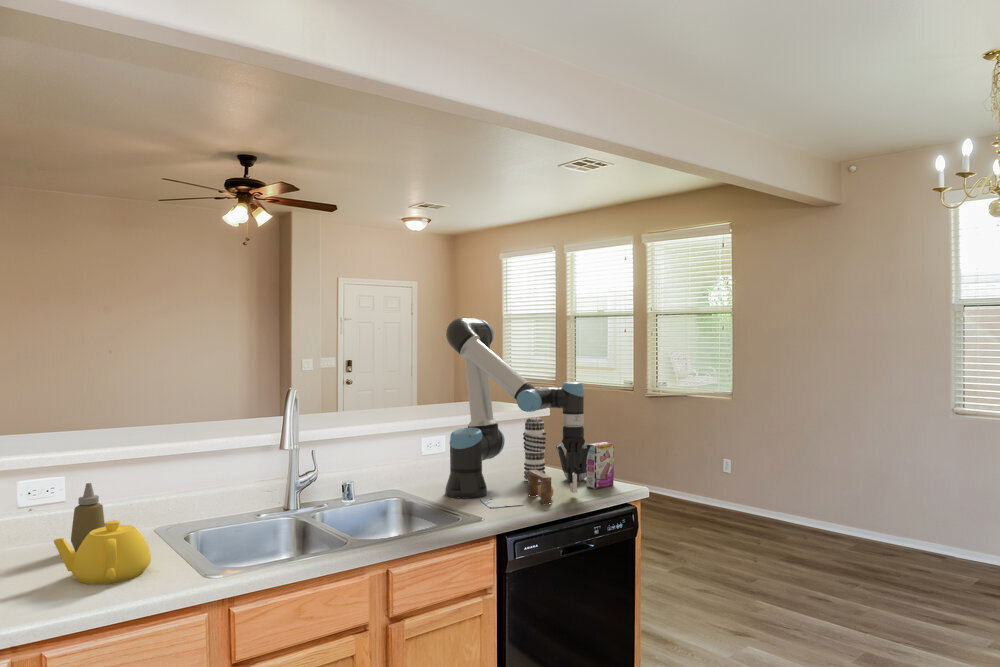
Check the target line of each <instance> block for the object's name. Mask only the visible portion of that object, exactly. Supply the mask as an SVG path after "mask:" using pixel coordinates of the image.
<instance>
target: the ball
mask: <svg viewBox="0 0 1000 667" xmlns="http://www.w3.org/2000/svg"><path fill="white" fill-rule="evenodd" d="M553 496H554V488H553V486H551V498H552V497H553ZM538 497H539V498H540V499H541V485H539V486H538Z"/></svg>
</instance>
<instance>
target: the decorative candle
mask: <svg viewBox="0 0 1000 667" xmlns="http://www.w3.org/2000/svg"><path fill="white" fill-rule="evenodd" d="M544 423H545V421H544V420H543V418H541V417H538V416H537V417H534V416H533V417H527V418H526V420H525V421H524V432H523V433H522V434H523V449H524V450H523V452H524V457H525V458H524V464H523V465H524V467H523V469H524V472H523V474H524V475H523V478H524V479H523V481H524V480H525V481H528V470H538V471H540V472H542V473H544V474H546V471H545V470H546V467H545V466H546V463H545V452H546V447H545V444H546V437H545V436H546V435H547V433H546V432H545V424H544ZM525 481H524V482H525ZM538 482H541V480H540V479H538Z"/></svg>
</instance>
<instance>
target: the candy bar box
mask: <svg viewBox="0 0 1000 667" xmlns="http://www.w3.org/2000/svg"><path fill="white" fill-rule="evenodd" d="M588 444H589V445H591V447H590V449H589V451H588V455H587V466H586V478H585V480H586V481H585V483H586V484H585V486H586V488H587V489H588V488H589V489H594V490H598V489H602V488H606V487H610V486H614V480H615V479H614V478H615V477H614V476H615V475H614V474H615V473H614V472H615V471H614V466H615V465H614V464H615V462H614V461H615V453H614V452H615V451H614V450H615V443H614V442H606V441H603V442H595V443H588Z"/></svg>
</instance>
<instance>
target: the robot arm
mask: <svg viewBox="0 0 1000 667" xmlns="http://www.w3.org/2000/svg"><path fill="white" fill-rule="evenodd" d="M445 331H446V332H445V335H446V336H445V337H446V340H447V343H448V344H449V345H450V346H451V348H452V349H453V350H454V351H455V352H457V354H459V355H460V356H461V357H463V359H464V362H465V363H464V365H465V372H466V373H465V374H466V384H467V392H468V393H467V395H468V402H469V403H468V404H469V405H468V406H469V411H470V412H469V415H470V422H469V423H468V424H467V427H461V428H458V429H454V430H453V431H452V432H451V433H450V436H449V437H450V438H449V458H450V460H449V470H450V471H449V472H450V473H449V475H448V479H447V482H446V485H445V496H447V497H448V498H449V497H450V498H455V499H475V498H482V497H485V496H487V494H488V487H487V483H486V481H485V477H484V474H483V461H486V460H489V459H490V460H491V459H493V458H495V457H496V456H498V455H500V454H501V453H502V451H503V449H504V447H505V437H504V436H505V435H504V433H503V431H501V429H500V428H499V423H498V421H497V420H495V419H494V413H493V402H492V393H491V385H490V378H491V380H493V381H494V382H495V383H496V384H497V385H499V386H500V387H501V388H502V389H503V390H504V391H505V392H506V393H507V394H508V395H510V396H511V397H512V398H513V399H515V400H516V403H517V406H518V408H519V409H520V410H521V411H523V412H530V413H531V412H532V413H533V412H536V411H540V410H544V409H561V410H562V425H563V426H562V439H561V442H560V444H559V445H556V446H555V449H556V450H557V452H558V457H559V460H560V465H561V468H562V470H561V471H562V472H563V471H564V472H566V473H568V479H567V482H568V483H569V492H571V493H573V494H574V493H575V494H576V493H578V483H580V481H579V474H580V473H581V472H583V471H584V469H585V464H586V460H587V455H588V451H589V449H590V447H591V445H589V444H590V443H587V442H586V441H585V438H584V436H585V427H584V424H585V420H584V419H585V414H584V413H585V410H584V408H585V407H584V405H585V398H584V397H585V394H584V384H583V382H580V381H566V382H565V381H564V382H562V385H561V387H552V386H533V385H532V384H531V383H530V382H529V381H528V380H527V379H525V378H524V377H523V376H522V375H520V373H518V371H516V370H515V369H514V368H513V367H511V366H510V365H509V364H508V363H507V362H505V361H504V360H503V359H502V358H501V357H500V356H499V355H497V354H496V353H495V352H494V351H493V350H492V349H491V347H490V346H491V344H492V342H493V341H494V336H495V335H494V330H493V328H492V326H491V324H490V323H488V322H487V321H486V320H484V319H481V318H477V317H476V318H474V317H473V318H471V317H470V318H469V317H467V318H466V317H458V318H455V319H453V320H452V321H451V322H449V324H448V325H447V327H446V330H445ZM582 447H583V450H582V454H581V459H580V450H581V448H582ZM564 450H566V451H567V462H566V458H565V454H566V453H565V451H564ZM573 454H574V473H573ZM564 472H563V473H564Z"/></svg>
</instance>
